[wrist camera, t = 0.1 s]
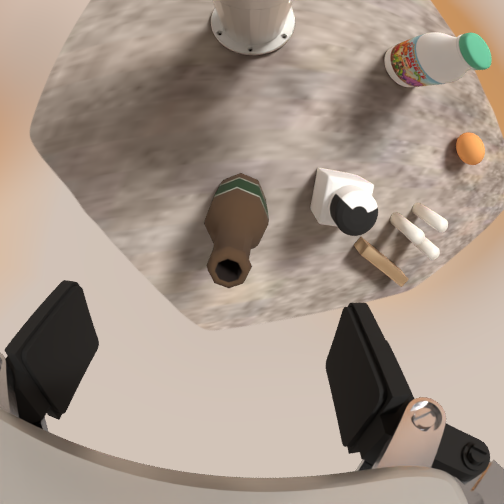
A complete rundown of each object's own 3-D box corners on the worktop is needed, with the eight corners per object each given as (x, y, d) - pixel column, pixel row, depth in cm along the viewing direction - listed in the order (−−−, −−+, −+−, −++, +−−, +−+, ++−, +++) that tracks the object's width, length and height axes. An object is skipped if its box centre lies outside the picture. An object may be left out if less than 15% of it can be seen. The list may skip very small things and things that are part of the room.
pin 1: (391, 211, 45) (414, 229, 38) (402, 213, 45) (426, 231, 38) (388, 224, 46) (410, 244, 39) (399, 225, 46) (422, 245, 39)
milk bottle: (405, 40, 31) (478, 15, 13) (428, 78, 34) (508, 72, 16) (374, 55, 33) (444, 26, 15) (399, 94, 36) (478, 91, 18)
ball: (452, 127, 38) (472, 130, 32) (472, 135, 38) (492, 140, 32) (448, 157, 40) (467, 163, 35) (468, 164, 40) (487, 171, 35)
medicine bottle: (349, 215, 46) (375, 245, 35) (309, 209, 45) (326, 238, 35) (358, 174, 43) (389, 193, 32) (317, 166, 42) (338, 183, 32)
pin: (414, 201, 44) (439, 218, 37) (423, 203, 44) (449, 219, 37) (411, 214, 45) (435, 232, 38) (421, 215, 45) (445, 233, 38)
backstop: (360, 236, 47) (368, 246, 44) (399, 268, 50) (408, 279, 47) (353, 245, 48) (360, 255, 45) (393, 276, 51) (401, 287, 47)
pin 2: (408, 227, 46) (430, 246, 39) (417, 228, 46) (441, 247, 39) (404, 239, 47) (426, 260, 40) (414, 240, 48) (436, 260, 40)
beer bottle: (275, 196, 45) (295, 273, 23) (240, 228, 47) (229, 324, 25) (240, 161, 42) (226, 206, 21) (206, 195, 45) (163, 270, 23)
